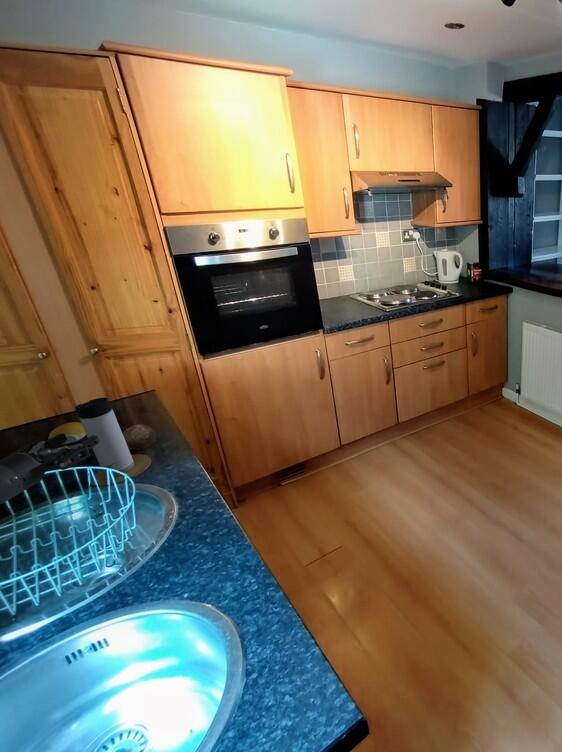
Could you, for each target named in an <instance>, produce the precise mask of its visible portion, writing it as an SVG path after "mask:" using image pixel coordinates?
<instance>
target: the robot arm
mask: <svg viewBox="0 0 562 752" xmlns="http://www.w3.org/2000/svg"><path fill="white" fill-rule="evenodd" d="M66 441H67V438H66V436H65V434H62V433H60V434H58V435H56V436H54V437H52V438H50V439H48V438H47V440H42V441H41V440H40V441H39V442H37V443H36V441H31V442H29V443H27V444H25V445H23V446H21V447H19V448H18V449H15V450H14V451H12V452H9V454H7V455H5V456H4V458H3V459H0V505H1V504H4V503H6V502H8V501H10V500H11V499H13V498H15V497H16V496H18V495H19V494H22V493H23V492H24V491H26V490H27V489H29V488H31V487H33V486H34V485H36V484H38V483H39V482H41V481H42V480H43V479H44V477H45V474H46V472H47V471H49V470H52V469H54V468H56V467H59V468H60V471H65V470H68V469H69V468H72V467H73V466H75V465H77V464H78V463H80V462H81V461H83V460H85V459H87V458H89V457H90V456H91V452H90V449H93V448H92V447H94V446H95V445H97V444H99V442H100V441H99V439H98V437H97V436H94V435H93V436H91V437H89V438H88V437H87V438H86V439H84V440H82V441H80V442H79V443H77V444H74V445H70V446H67V445H64V446H63V445H61V444H62V443H64V442H66ZM59 446H60V447H59ZM28 449H29V451H27V450H28ZM62 452H64V454H65V455H63V453H62Z"/></svg>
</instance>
